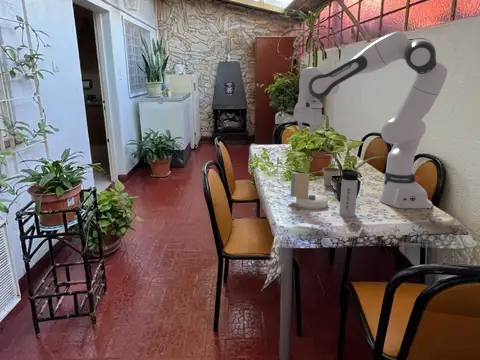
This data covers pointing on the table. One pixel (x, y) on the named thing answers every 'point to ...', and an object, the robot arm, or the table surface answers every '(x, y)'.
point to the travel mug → (348, 193)
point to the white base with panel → (305, 193)
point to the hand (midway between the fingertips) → (305, 131)
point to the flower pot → (329, 174)
